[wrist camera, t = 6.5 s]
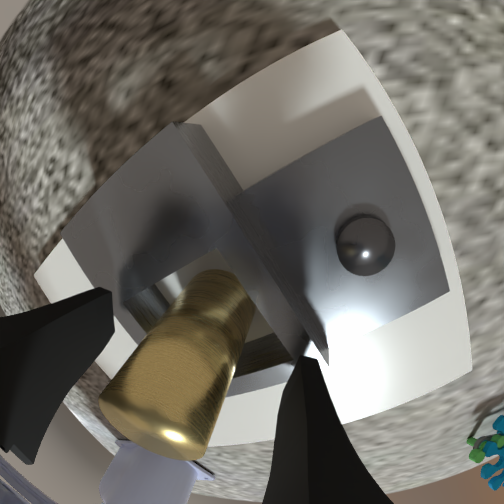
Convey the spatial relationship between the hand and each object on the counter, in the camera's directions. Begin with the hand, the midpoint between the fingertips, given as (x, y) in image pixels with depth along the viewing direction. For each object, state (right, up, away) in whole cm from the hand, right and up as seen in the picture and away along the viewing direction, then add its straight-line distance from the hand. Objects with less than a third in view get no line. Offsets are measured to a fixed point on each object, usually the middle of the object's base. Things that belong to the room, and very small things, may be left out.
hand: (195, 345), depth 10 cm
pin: (+1, +1, +3) cm, 3 cm away
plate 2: (+3, +2, +2) cm, 4 cm away
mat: (+1, -1, +5) cm, 5 cm away
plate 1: (0, +2, +2) cm, 3 cm away
